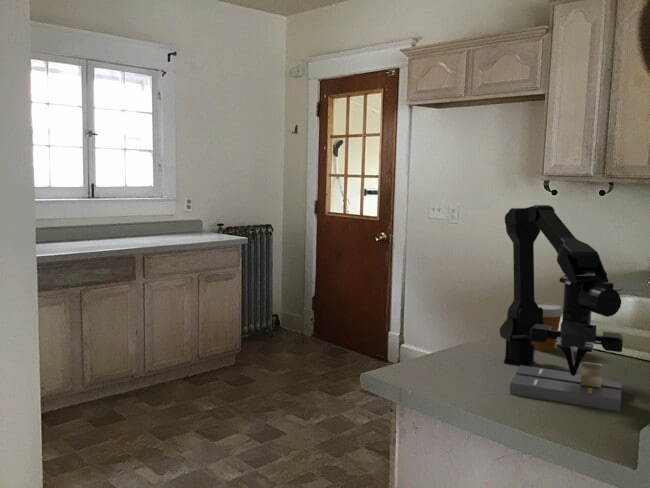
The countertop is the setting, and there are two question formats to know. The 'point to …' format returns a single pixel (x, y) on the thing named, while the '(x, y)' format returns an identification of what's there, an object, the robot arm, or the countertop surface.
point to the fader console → (566, 388)
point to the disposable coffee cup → (552, 319)
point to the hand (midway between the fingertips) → (573, 375)
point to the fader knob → (591, 374)
